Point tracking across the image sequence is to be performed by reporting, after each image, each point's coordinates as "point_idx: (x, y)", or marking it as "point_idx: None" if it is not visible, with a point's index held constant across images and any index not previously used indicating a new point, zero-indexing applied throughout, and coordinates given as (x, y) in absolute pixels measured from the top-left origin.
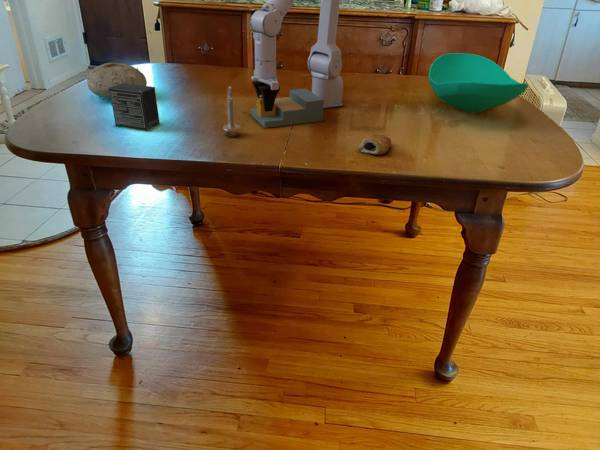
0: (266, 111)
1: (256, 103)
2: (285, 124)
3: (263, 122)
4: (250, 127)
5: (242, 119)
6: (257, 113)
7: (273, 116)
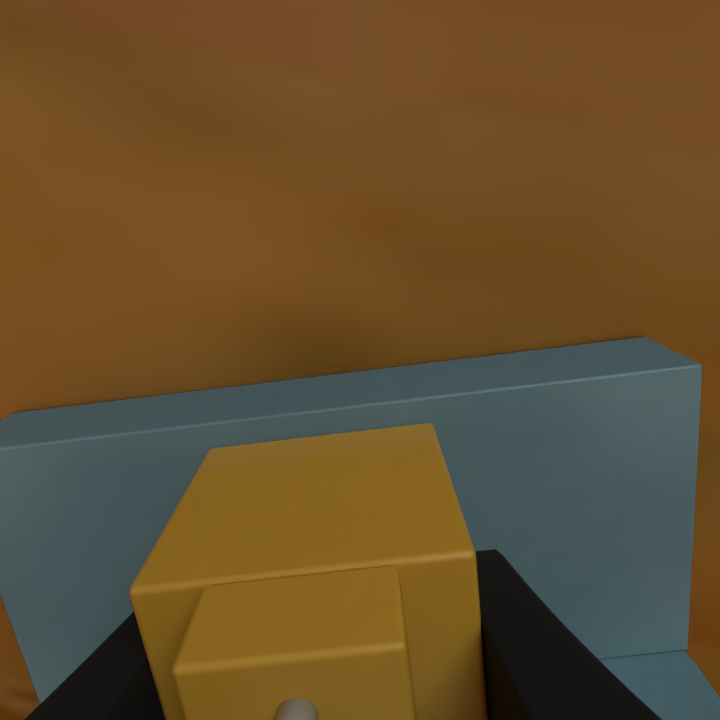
0: None
1: (450, 523)
2: None
3: (17, 435)
4: (64, 211)
5: (469, 155)
6: (383, 430)
7: None
